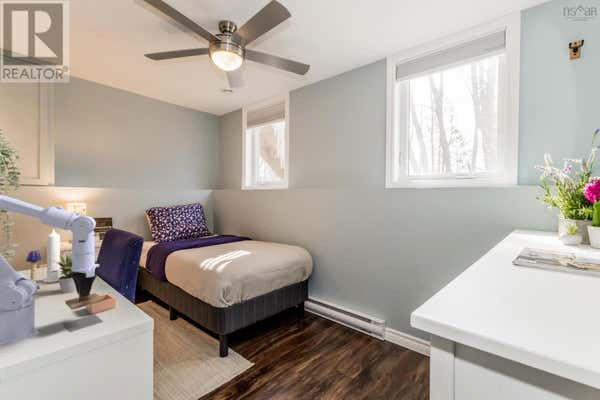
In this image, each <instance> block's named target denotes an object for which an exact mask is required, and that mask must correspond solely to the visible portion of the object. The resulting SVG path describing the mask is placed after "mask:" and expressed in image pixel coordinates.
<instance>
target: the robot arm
mask: <svg viewBox="0 0 600 400" xmlns="http://www.w3.org/2000/svg"><path fill="white" fill-rule="evenodd" d="M0 210H4V211H8V212H13V213H16V214H17V213H18V214H20V215H25V216H29V217H32V218H38V219H39V221H40V222H41V224H43V225H46V226H49V227H54V228H57V229H61V230H64V231H70V232H71V233H72V240H71V256H72V257H71V258H72V268H71V271H73V272H75V273H70V275H71V277H72V278H73V280H74V283H75V286H76V293H77V295H78V296H79V292H80V296H81V297H84V296H88V295H89V294H91V291H92V287H93V284H94V282H95V279H96V278H97V276H98V273H97V272H95V269H96V268H99V267H100V264H99V263H96V262H95V261H96V259H95V257H96V256H95V255H96V254H95V251H96V250H95V249H96V246H95V245H96V244H95V243H96V241H95V240H96V238H95V231H94V229H95V228H96V225H97V222H96V220H95V219H94V218H93V217H92V216H90V215H87V214H83V215H82V213H81V212H73V211H69V210H66V209H64V207H62V206H60V205H57V206H49V207H45V208H44V207H41V206H38V205H35V204H33V203H29V202H26V201H23V200H20V199H16V198H14V197H11V196H7V195H3V194H0ZM30 279H31V278H30ZM30 279H29V278H28V277H26V276H25V275H24V274H23V273H21V272H19V271H16V270H15V269H14V267H12V265H11V264H10V263H9V262H8V261H7V259H6V258H5V257H4V256H3V255H2V253H1V252H0V346H1V345H5V344H9V343H12V342H14V341H18V340H21V339H25V338H29V337H31V336H35V335H38V334H39V330H38V328H37V327H36V321H35V319H36V317H35V316H36V314H35V310H36V309H35V308H36V306H35V303H36V301H35V298H34V297H33V296H34V295H35V294H36V292H37V291H38V289H37V285H38V284H37V283H35V282H36V281H35V282H34V281H32V280H30Z"/></svg>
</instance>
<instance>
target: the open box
mask: <svg viewBox="0 0 600 400" xmlns="http://www.w3.org/2000/svg"><path fill="white" fill-rule="evenodd" d="M99 296H100V297H102V298H103V301H102V302H98V303H95V304H91V305H88V306H85V311H86V312H88V313H89V314H90V316H91V315H94V314H95V315H97V314H100V313H101V314H102V313H103V312H107V311H111V310H114V309H116V297H114V296H113V295H111V294H110V293H105V294H102V295H99Z"/></svg>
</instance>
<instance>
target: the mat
mask: <svg viewBox="0 0 600 400" xmlns="http://www.w3.org/2000/svg"><path fill="white" fill-rule="evenodd" d="M103 322H104V321H103V320H102V318H100V317H98V316H97V314H94V315H91V314H90V315H88V316H84V317H80V318H78V319H74V320H70V321H67V322H64V323H62V325H63V326H64V328H66V330H67V331H68V332H69V333H72V332H75V331H78V330H82V329H84V328H88V327H91V326H95V325H97V324H101V323H103Z"/></svg>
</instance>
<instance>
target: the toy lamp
mask: <svg viewBox="0 0 600 400" xmlns="http://www.w3.org/2000/svg"><path fill="white" fill-rule="evenodd" d="M25 261H26V262H28V263H30V268H31V269H30V275H29V276H30V280H32V281H34V282H35V283H36V280H37V279H36V278H37V264H38V263H37V262H40V261H42V256H41V253H40V251H39V250H32V251H29V252H28V254H27V258H26V260H25ZM36 285H37V290H40V288H41V287H40V286H39V285H38V284H37V283H36Z"/></svg>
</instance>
